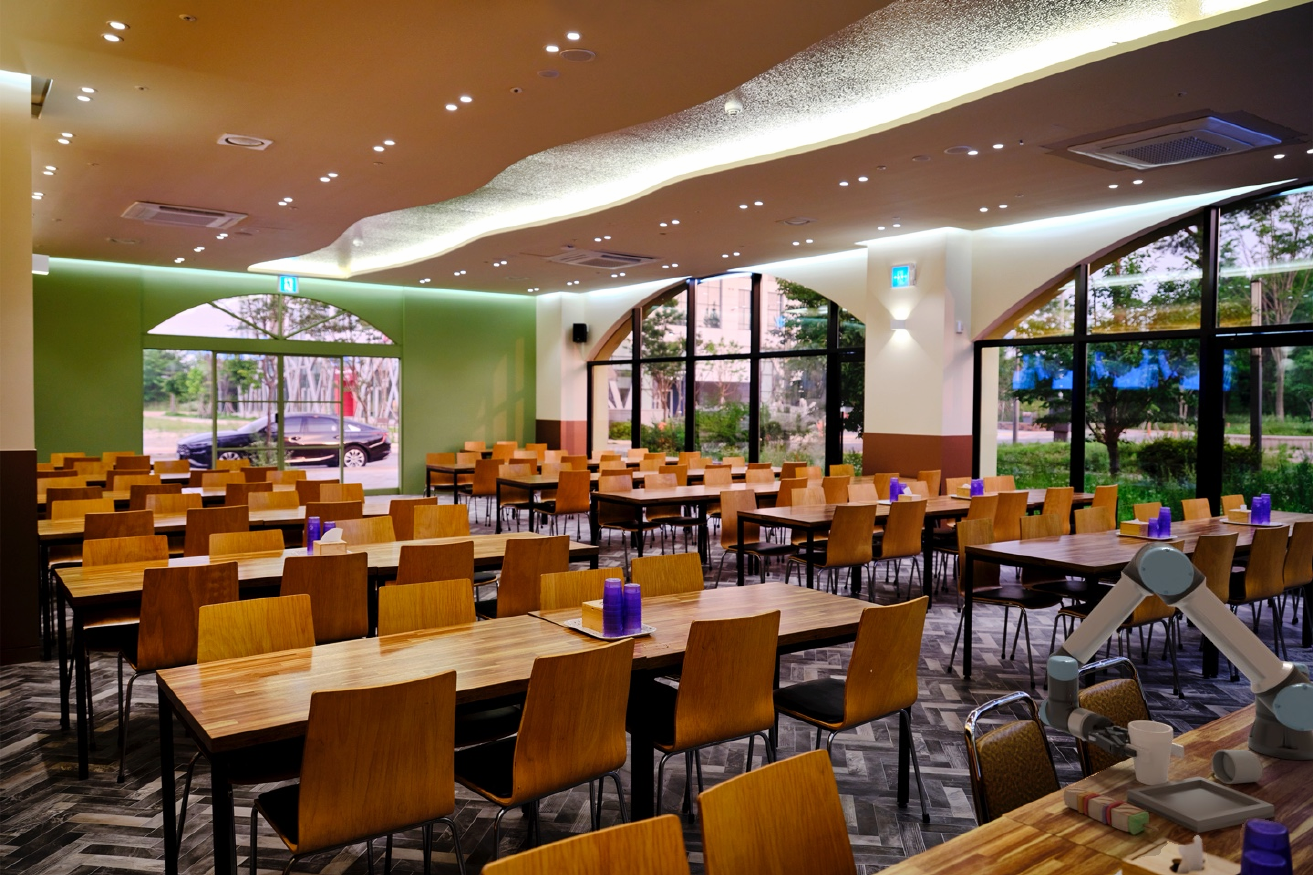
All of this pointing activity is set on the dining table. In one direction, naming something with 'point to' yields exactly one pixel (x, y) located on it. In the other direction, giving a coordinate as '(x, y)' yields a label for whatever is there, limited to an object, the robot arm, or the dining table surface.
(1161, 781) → the foam cup
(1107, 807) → the skewer
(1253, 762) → the ceramic mug
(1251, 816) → the cafeteria tray
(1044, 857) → the dining table surface
